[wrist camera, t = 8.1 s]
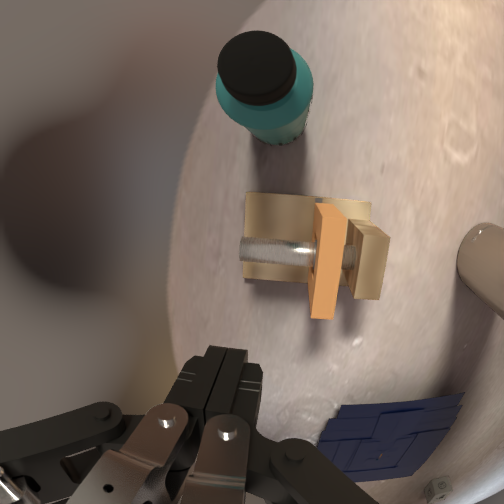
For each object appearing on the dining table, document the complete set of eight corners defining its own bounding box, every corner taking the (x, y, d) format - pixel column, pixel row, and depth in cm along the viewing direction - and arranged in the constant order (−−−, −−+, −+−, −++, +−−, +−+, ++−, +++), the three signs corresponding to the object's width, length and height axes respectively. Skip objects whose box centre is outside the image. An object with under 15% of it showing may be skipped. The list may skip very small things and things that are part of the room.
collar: (307, 280, 35) (310, 318, 26) (314, 202, 32) (322, 216, 24) (324, 282, 35) (332, 319, 26) (333, 204, 32) (347, 218, 24)
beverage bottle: (278, 159, 33) (258, 151, 14) (235, 119, 32) (165, 71, 13) (319, 119, 31) (351, 63, 12) (275, 80, 30) (252, -11, 11)
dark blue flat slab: (468, 378, 36) (475, 394, 33) (410, 466, 48) (413, 478, 45) (326, 390, 40) (328, 410, 36) (305, 474, 51) (305, 488, 48)
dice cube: (440, 485, 47) (444, 499, 42) (424, 489, 48) (427, 504, 43) (448, 475, 46) (452, 490, 41) (431, 479, 47) (435, 495, 42)
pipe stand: (244, 274, 37) (229, 307, 29) (247, 191, 35) (231, 201, 26) (358, 283, 36) (374, 318, 27) (369, 201, 33) (393, 215, 24)
